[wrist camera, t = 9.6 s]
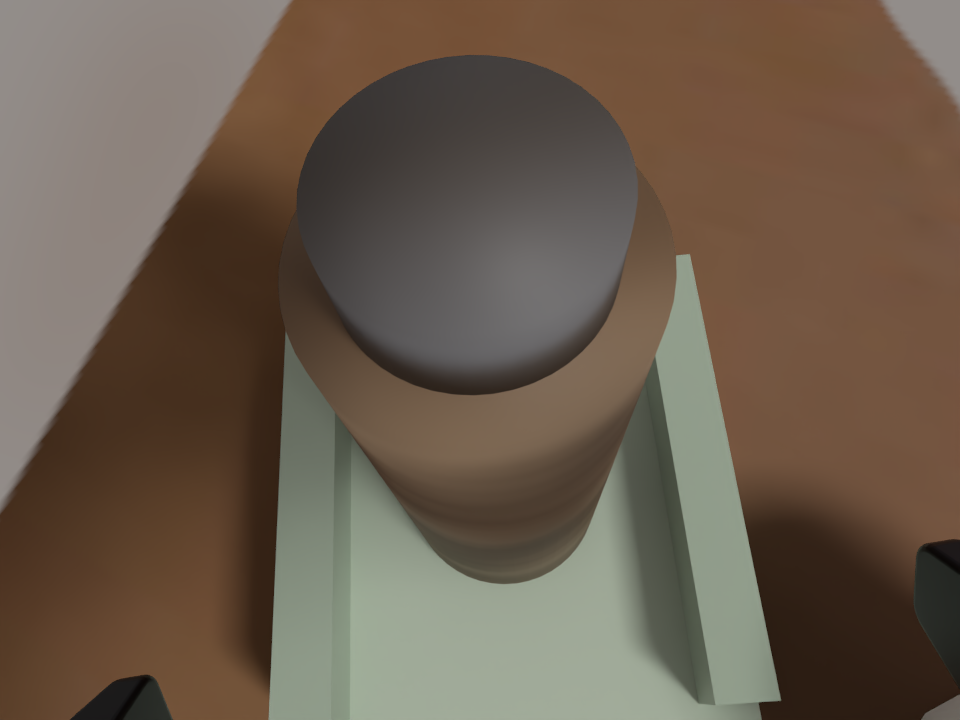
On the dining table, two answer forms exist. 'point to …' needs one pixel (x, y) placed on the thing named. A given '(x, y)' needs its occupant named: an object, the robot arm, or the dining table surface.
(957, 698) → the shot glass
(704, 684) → the tray
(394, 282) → the pepper mill
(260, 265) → the dining table surface
